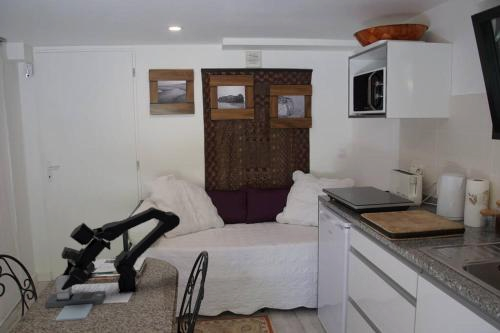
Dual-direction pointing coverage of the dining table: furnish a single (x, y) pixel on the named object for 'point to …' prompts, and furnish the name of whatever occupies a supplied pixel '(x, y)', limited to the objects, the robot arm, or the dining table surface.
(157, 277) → the dining table surface
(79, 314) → the tile
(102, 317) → the dining table surface
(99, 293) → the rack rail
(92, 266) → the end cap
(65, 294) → the block
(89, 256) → the robot arm
